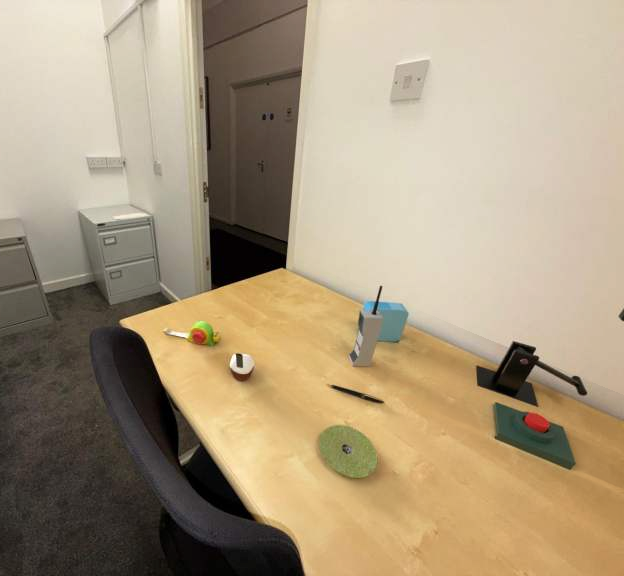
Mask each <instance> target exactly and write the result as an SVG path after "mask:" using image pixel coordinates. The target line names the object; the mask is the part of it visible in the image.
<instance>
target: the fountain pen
mask: <svg viewBox="0 0 624 576" xmlns="http://www.w3.org/2000/svg"><path fill="white" fill-rule="evenodd" d="M326 386H328V387H331V389H334V390H337V391H341V392H343V393H346V394H348V395H352V396H355V397H358V398H361V399H362V400H363V399H364V400H367V401H370V402H374V403H379V404H385V403H386V402H385V401H384V400H383V399H381V398H379V397H376V396H373V395H370V394H367V393H364V392H360V391H357V390H353V389H350V388H346V387H342V386H340V385H339V386H338V385H335V384H329V383H326Z"/></svg>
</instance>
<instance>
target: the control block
mask: <svg viewBox="0 0 624 576" xmlns="http://www.w3.org/2000/svg"><path fill="white" fill-rule="evenodd" d="M492 408H493V415H494V425H495V426H494V427H495V435H494V439H495V440H496V441H498V442H501V443H503V444H506V445H509V446H511V447H514V448H515V449H518V450H521V451H522V452H525V453H528V454H530V455H532V456H535V457H537V458H539V459H543V460H544V461H547V462H549V463H552V464H554V465H556V466H558V467H562V468H564V469H566V470H569V471H571V470H572V469H573V468H574V466H575V465H576V460H575V457H574V454H573V451H572V448H571V446H570V442H569V440H568V437H567V433H566V431H565V428H564V426H563V425H560V424H557V423H554V422H552V421H550V420H548V422H549V423H550V426H549V428H548V429H547V430H546V432H543V433H541V432H538V431H536V430H533V429H532V428H530V427H529V426H527V425H526V423H525V422H524V419H525V417H526V416H527V414H528V413H531V412H530V411H522V410H519V409H517V408H513V407H511V406H508V405H505V404H502V403H499V402H497V401H495V402H494V403H493V405H492Z"/></svg>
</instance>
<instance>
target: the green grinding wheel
mask: <svg viewBox="0 0 624 576" xmlns="http://www.w3.org/2000/svg"><path fill="white" fill-rule="evenodd" d="M318 439H319V440H318V447H319V451H320V454H321V455H322V458H323V459H324V460H325V462H326V463H327V464H328V466H330V467H331V468H332V469H333V470H334V471H336V472H338V473H339V474H341V475H344V476H345V477H348V478H354V479H358V478H359V479H360V478H366V477H368V476H370V475H371V474H372V473H373V472H374V471H375V470H376V468H377V464H378V454H377V451H376V448H375V446H374V444H373V443H372V442H371V440H370V439H369V437H367V436H366V435H365V434H364V433H362V432H361V431H360V430H358V429H357V428H355V427H351V426H349V425H344V424H334V425H331V426H328V427H326V428H325V429H324V430H323V431H322V432H321V434H320V436H319V438H318Z"/></svg>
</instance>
